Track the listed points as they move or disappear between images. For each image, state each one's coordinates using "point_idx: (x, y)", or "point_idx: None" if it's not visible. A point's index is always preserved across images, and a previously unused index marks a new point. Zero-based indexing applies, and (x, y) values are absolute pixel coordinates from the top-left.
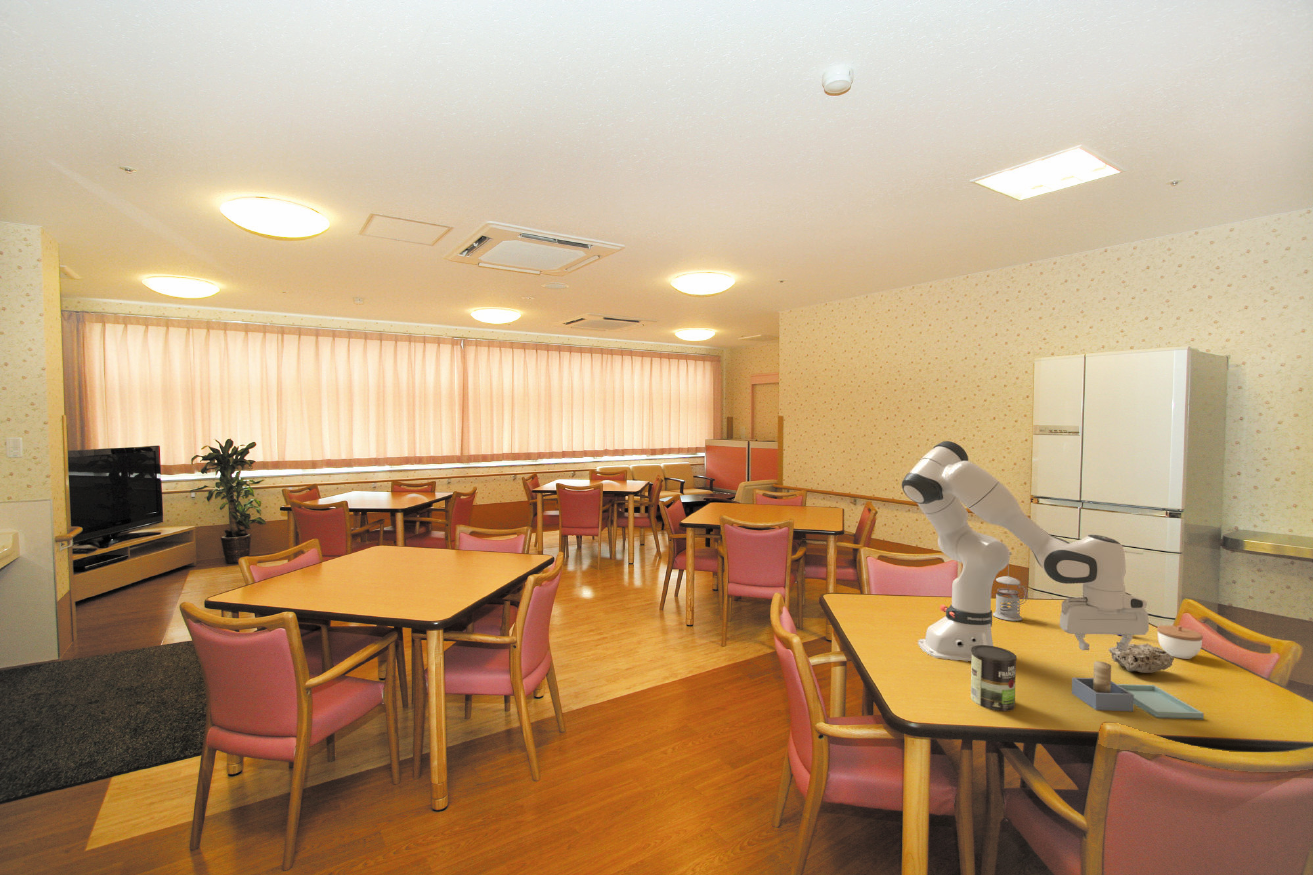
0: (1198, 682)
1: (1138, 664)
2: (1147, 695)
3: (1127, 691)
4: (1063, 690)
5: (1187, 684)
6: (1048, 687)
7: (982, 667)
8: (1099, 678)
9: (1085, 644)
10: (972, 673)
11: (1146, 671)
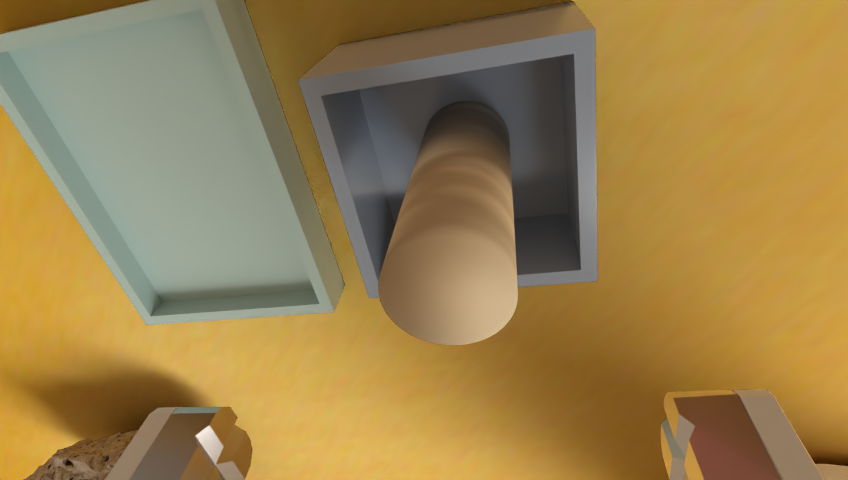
0: (6, 392)
1: None
2: (200, 249)
3: (321, 129)
4: None
5: (40, 376)
6: (650, 285)
7: None
8: (497, 190)
9: (785, 474)
10: None
11: None
